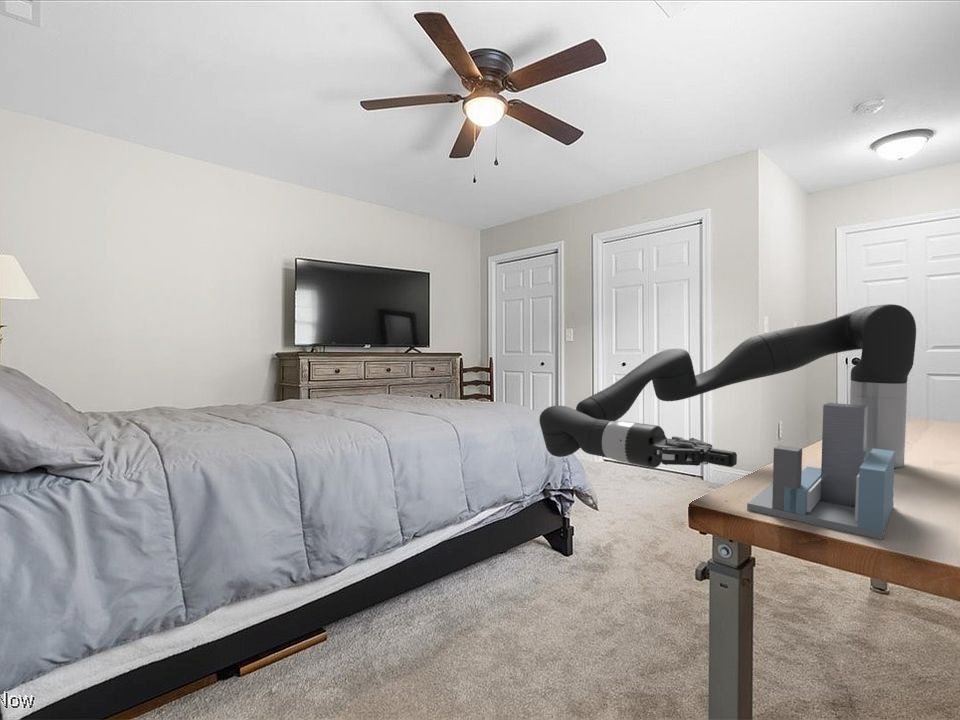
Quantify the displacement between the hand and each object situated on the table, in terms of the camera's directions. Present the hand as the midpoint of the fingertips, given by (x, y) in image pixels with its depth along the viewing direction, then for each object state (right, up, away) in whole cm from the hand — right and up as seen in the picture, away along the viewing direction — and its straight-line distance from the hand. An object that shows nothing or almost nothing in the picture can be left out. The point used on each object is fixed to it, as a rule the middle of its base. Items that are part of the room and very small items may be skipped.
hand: (735, 459), depth 77 cm
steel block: (+16, -6, -2) cm, 17 cm away
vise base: (+12, -7, -2) cm, 14 cm away
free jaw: (+10, -6, -1) cm, 12 cm away
